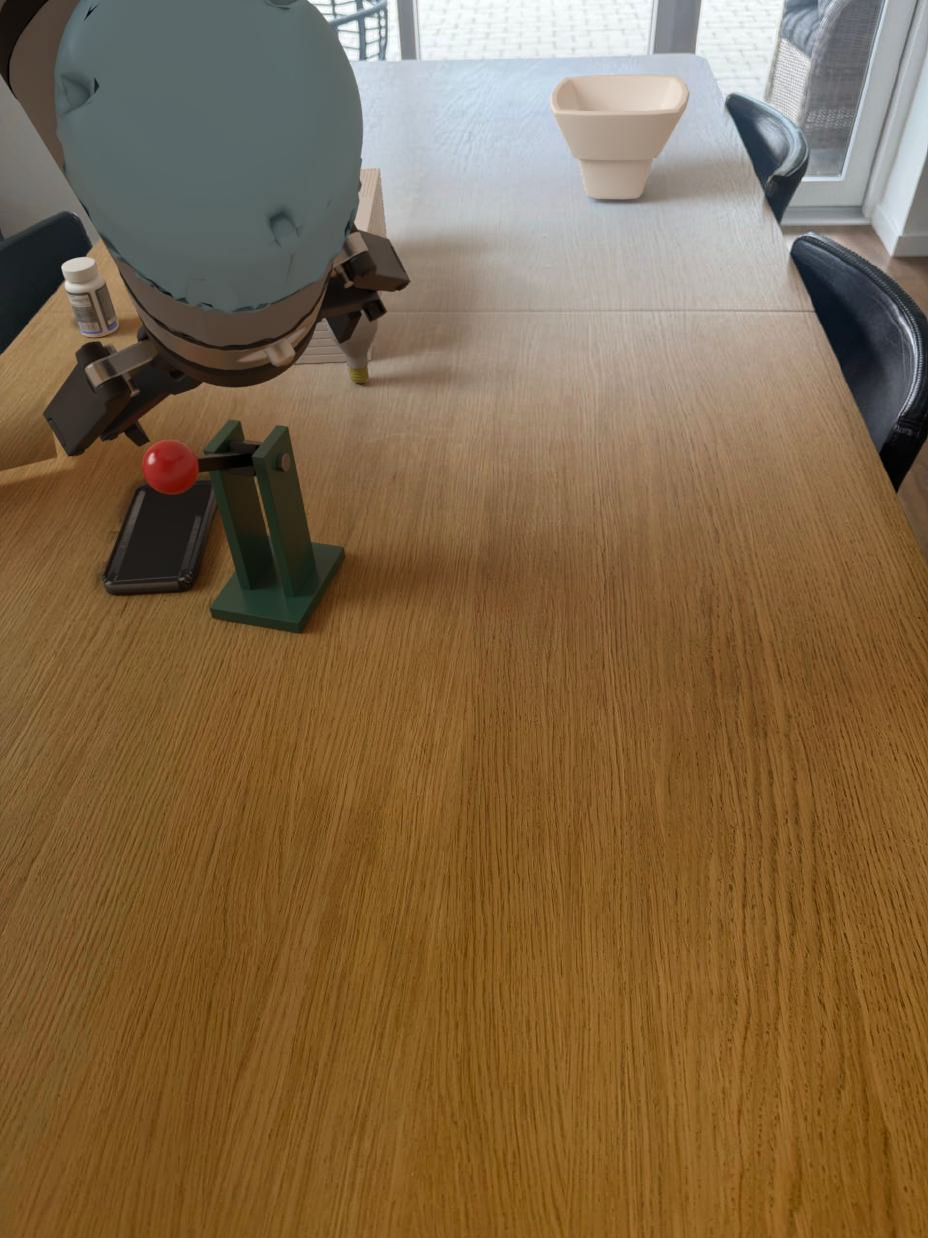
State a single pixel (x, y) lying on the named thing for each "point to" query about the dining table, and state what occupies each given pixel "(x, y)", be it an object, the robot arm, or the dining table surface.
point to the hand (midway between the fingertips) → (235, 371)
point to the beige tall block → (366, 220)
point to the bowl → (617, 127)
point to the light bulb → (358, 348)
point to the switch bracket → (269, 538)
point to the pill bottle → (89, 298)
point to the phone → (161, 541)
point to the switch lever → (193, 464)
